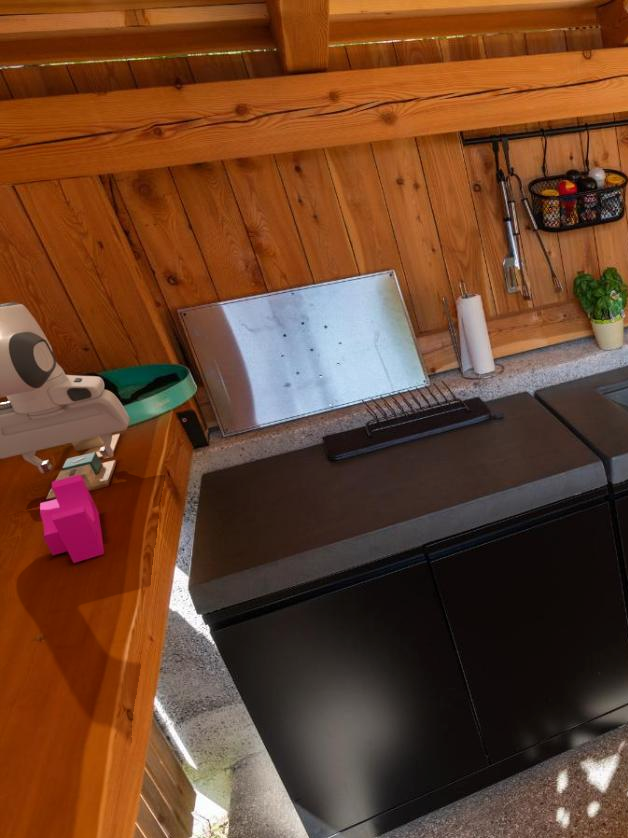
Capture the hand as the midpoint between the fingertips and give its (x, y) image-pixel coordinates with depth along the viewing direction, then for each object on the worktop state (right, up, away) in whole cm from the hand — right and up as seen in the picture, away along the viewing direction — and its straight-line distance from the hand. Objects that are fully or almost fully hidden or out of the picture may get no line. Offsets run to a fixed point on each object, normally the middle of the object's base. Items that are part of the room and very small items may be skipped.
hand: (78, 463), depth 139 cm
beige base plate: (+2, -3, -1) cm, 4 cm away
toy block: (+17, -12, -20) cm, 29 cm away
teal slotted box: (+1, -1, +1) cm, 2 cm away
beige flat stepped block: (-6, +2, +10) cm, 12 cm away
